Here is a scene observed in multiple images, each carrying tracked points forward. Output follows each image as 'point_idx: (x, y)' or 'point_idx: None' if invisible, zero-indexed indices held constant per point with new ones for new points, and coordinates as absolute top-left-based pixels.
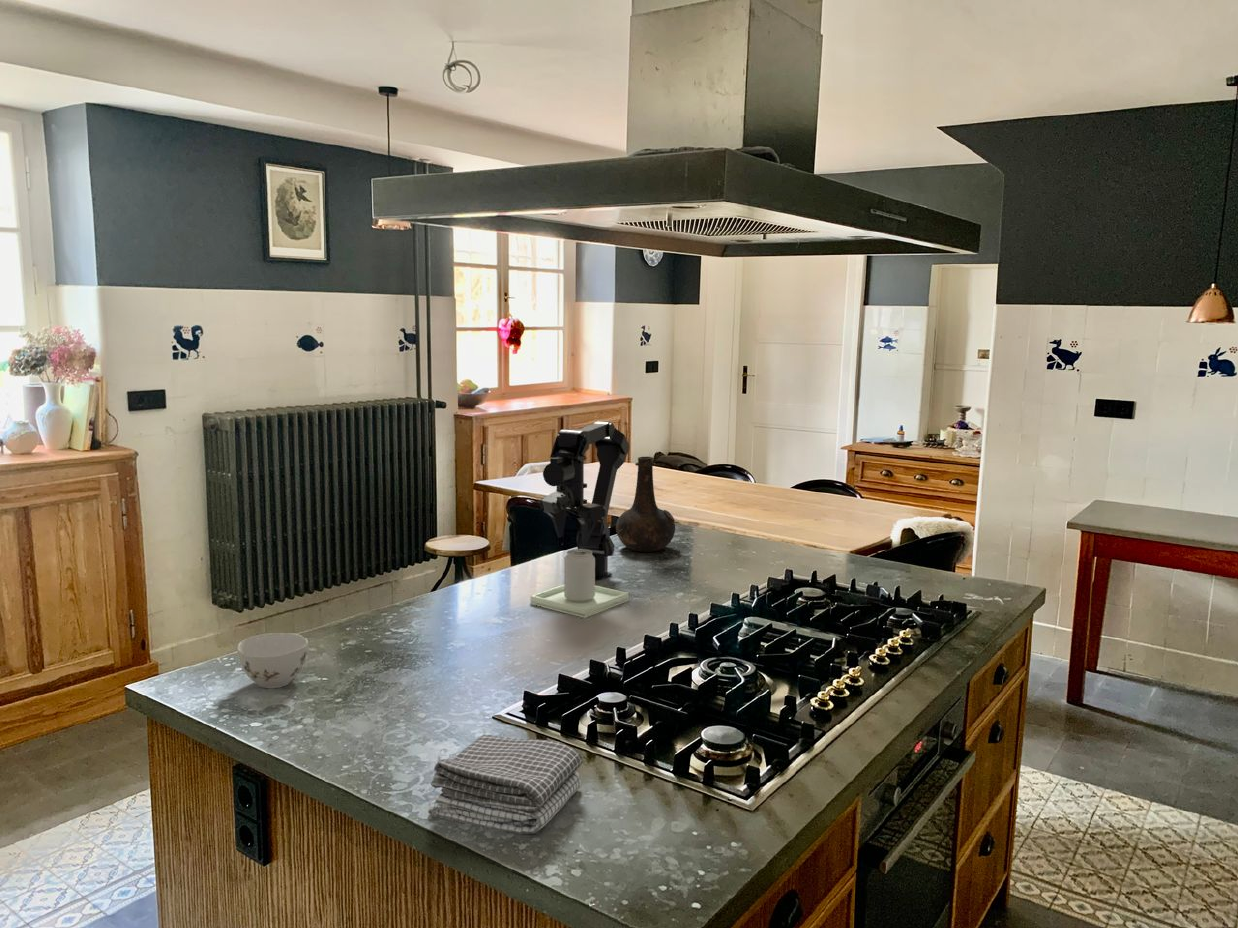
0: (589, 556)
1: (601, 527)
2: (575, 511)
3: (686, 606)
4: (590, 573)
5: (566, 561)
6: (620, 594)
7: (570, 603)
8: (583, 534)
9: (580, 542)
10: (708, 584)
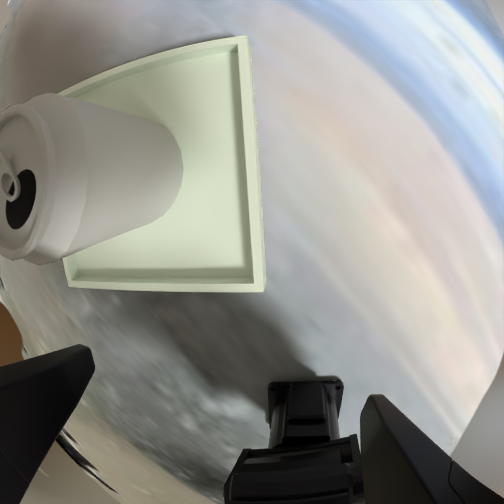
0: None
1: None
2: None
3: (23, 314)
4: (33, 181)
5: (50, 93)
6: (86, 278)
7: None
8: (21, 365)
9: (330, 463)
10: (100, 434)
